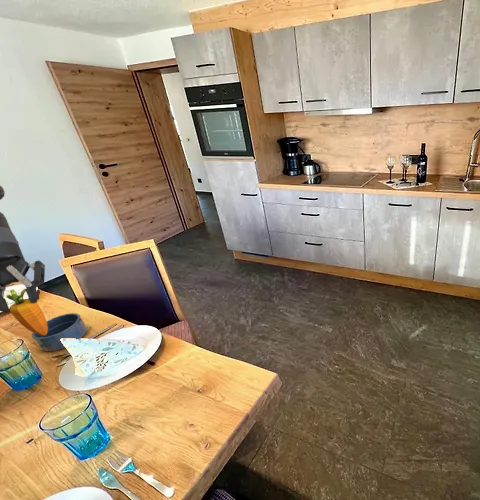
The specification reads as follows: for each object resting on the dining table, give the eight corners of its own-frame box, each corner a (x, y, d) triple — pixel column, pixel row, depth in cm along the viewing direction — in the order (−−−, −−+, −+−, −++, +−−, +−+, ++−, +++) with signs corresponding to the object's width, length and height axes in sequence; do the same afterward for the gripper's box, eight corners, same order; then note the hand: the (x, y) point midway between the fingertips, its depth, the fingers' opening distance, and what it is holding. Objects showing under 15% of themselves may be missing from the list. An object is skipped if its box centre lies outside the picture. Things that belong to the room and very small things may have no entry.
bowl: (35, 357, 91) (24, 344, 88) (49, 333, 101) (40, 320, 98) (82, 343, 96) (73, 330, 93) (92, 321, 105) (84, 309, 102)
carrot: (37, 332, 79) (2, 288, 72) (60, 326, 81) (28, 282, 74) (29, 344, 75) (-8, 299, 68) (53, 337, 77) (19, 292, 70)
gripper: (-57, 252, 67) (-33, 317, 65) (28, 233, 75) (52, 290, 73) (-36, 263, 73) (-13, 323, 71) (41, 244, 81) (63, 297, 79)
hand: (20, 306), depth 72 cm, fingers closed on carrot, 4 cm apart
